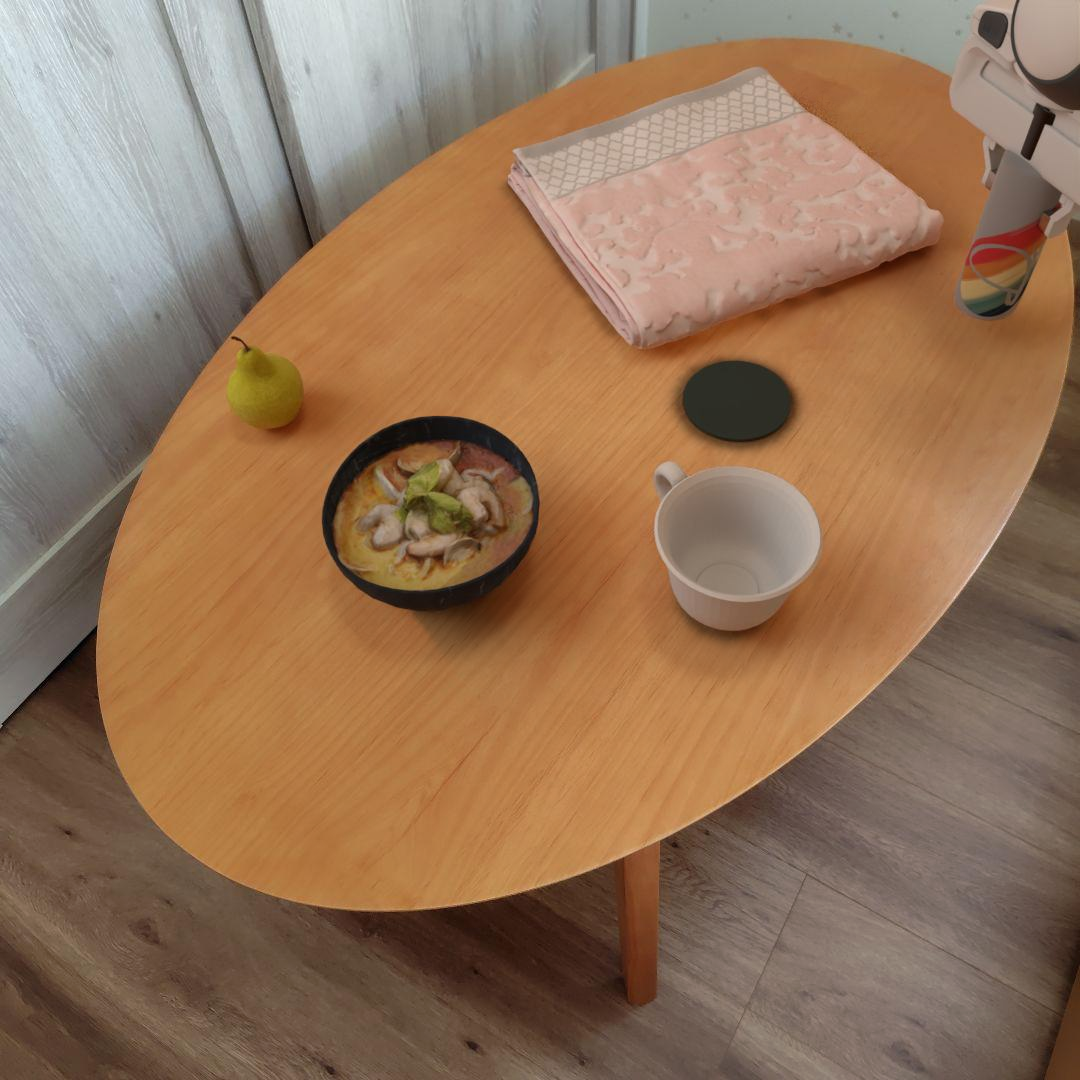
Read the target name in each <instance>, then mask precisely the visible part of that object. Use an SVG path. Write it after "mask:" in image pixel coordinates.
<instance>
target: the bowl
mask: <svg viewBox="0 0 1080 1080" xmlns="http://www.w3.org/2000/svg"><path fill="white" fill-rule="evenodd" d="M540 506H541V501H540V492H539V485H538V482H537V478H536V474H535V472H534V470H533V467H532V465H531V463H530V461H529V459H528V457H526V455H525V454H524V452H523V451H522V450H521V449H520V448H519V447H518V446H517V444H516V443H515V442H514V441H512V440H511V439H510V438H509V437H507V436H506V435H505V434H503V433H502V432H501V431H499V430H497V429H496V428H494V427H492V426H490V425H487V424H486V423H484V422H480V421H477V420H475V419H471V418H466V417H461V416H451V415H428V416H418V417H413V418H409V419H405V420H401V421H399V422H396V423H393V424H391V425H389V426H386V427H384V428H382V429H380V430H378V431H377V432H375V433H374V434H372V435H370V436H369V437H368V438H366V439H365V440H364V441H362V442H360V444H358V445H357V446H356V448H355V449H353V450H352V451H351V452H350V453H349V454H348V455H347V457H345V459H344V461H342V463H341V464H340V465H339V467H338V469H337V470H336V472H335V473H334V475H333V477H332V479H331V481H330V483H329V486H328V488H327V490H326V494H325V496H324V501H323V505H322V511H321V528H322V536H323V539H324V543H325V545H326V548H327V550H328V553H329V555H330V557H331V558H332V561H333V562H334V563H335V565H336V567H337V568H338V569H339V571H340V572H341V574H342V575H343V576H344V578H346V579H347V580H348V581H349V582H350V583H352V585H353V586H355V587H356V588H357V589H358V590H359V591H361V593H364V594H366V596H368V597H370V598H372V599H373V600H376V601H378V602H381V603H384V604H386V605H388V606H391V607H394V608H397V609H403V610H408V611H414V612H442V611H447V610H451V609H455V608H460V607H464V606H467V605H469V604H472V603H473V602H476V601H478V600H481V599H484V597H486V596H487V595H489V594H490V593H492V592H493V591H494V590H496V589H498V588H499V587H500V586H501V585H502V584H504V582H505V581H506V580H508V579H509V578H510V577H511V575H512V574H513V573H514V572H515V571H516V570H517V569H518V568H519V566H520V564H521V563H522V562H523V560H524V559H525V557H526V556H527V554H528V552H529V550H530V548H531V546H532V543H533V542H534V540H535V537H536V535H537V530H538V527H539V520H540V508H541V507H540Z"/></svg>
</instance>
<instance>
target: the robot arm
mask: <svg viewBox="0 0 1080 1080" xmlns="http://www.w3.org/2000/svg"><path fill="white" fill-rule="evenodd" d="M970 30H971V32H972V33H971V34H970V35H969V36H968V37H967V38H966V39H965V41H964V43H963V45H962V47H961V49H960V52H959V55H958V58H957V61H956V64H955V67H954V70H953V73H952V77H951V80H950V85H949V88H948V89H949V90H948V95H949V102H950V106H951V109H952V110H953V111H954V112H956V114H958V115H959V116H961V117H962V118H963V119H965V120H966V121H967V122H969V123H970V124H971V125H972V126H974V127H975V128H977V129H978V131H980V132H982V133H983V134H984V138H983V141H982V150H983V157H984V166H985V170H984V173H983V175H982V178H981V185H982V186H984V187H985V188H986V189H987V190H989V191H990V190H991V187H992V184H993V182H994V179H995V176H996V173H997V171H998V168H999V165H1000V162H1001V160H1002V157H1003V154H1004V152H1005V150H1009V151H1011V152H1013V153H1015V154H1016V155H1018V156H1020V157H1021V158H1023V159H1024V160H1025V161H1026V162H1028V163H1029V164H1030V165H1031V166H1032V167H1033V168H1034V169H1035V170H1036V171H1037V172H1038V173H1039V174H1040V175H1041V176H1042V178H1043V179H1045V180H1046V181H1047V182H1049V183H1050V184H1051V185H1052V186H1054V187H1055V188H1056V189H1058V190H1059V191H1060V192H1062V195H1061V197H1060V200H1059V202H1060V203H1061V204H1062V206H1058V207H1056V208H1053V210H1047V211H1044V212H1042V214H1041V217H1040V222H1039V223H1038V224H1037V229H1038V230H1040V231H1041V232H1042V233H1043V234H1044V235H1046V236H1047V237H1048V238H1047V239H1053V238H1056V237H1058V236H1061V235H1063V234H1064V233H1065V232H1066V231H1067V229H1068V226H1069V224H1070V222H1071V220H1072V218H1073V217H1074V216H1076V215H1077V214H1078V213H1080V0H987V1H985V2H983V3H981V4H977V6H976V7H975V8H974V10H973V13H972V17H971V19H970ZM1036 103H1038V104H1040V105H1041V106H1043V107H1046V108H1048V109H1050V112H1052V113H1054V114H1055V115H1056V117H1055V120H1054V123H1053V125H1052V126H1050V125H1046V124H1045V126H1044V129H1043V131H1042V134H1041V136H1040V139H1039V141H1038V144H1037V146H1036V149H1035V151H1034V153H1033V156H1032V158H1031V160H1030V161H1029V160H1027V159H1026V158H1024V157H1023V156H1022V155H1021V150H1022V147H1023V144H1024V141H1025V139H1026V136H1027V133H1028V131H1029V128H1030V125H1031V122H1032V120H1033V117H1034V115H1033V110H1034V107H1035V104H1036Z"/></svg>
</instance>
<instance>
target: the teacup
mask: <svg viewBox="0 0 1080 1080" xmlns="http://www.w3.org/2000/svg"><path fill="white" fill-rule="evenodd" d="M653 484H654V488H655V491H656V494H657V496H658V499H659V500H660V503H659V505H658V507H657V511H656V512H655V517H654V522H653V523H654V525H653V532H654V541H655V544H656V548H657V550H658V553H659V555H660V558H661V559H662V561H663V562H664V564H665V565H666V568H667V572H668V578H669V582H670V586H671V589H672V590H671V591H672V592H673V595H674V597H675V599H676V601H677V602H678V604H679V605H680V607H681V608H682V609H683V611H684V612H685V613H687V614H688V615H689V616H690V617H691V618H693V619H694V620H695V621H697V622H698V623H700V624H702V625H704V626H706V627H708V628H712V629H715V630H720V631H726V632H728V631H729V632H736V631H737V632H738V631H739V632H740V631H744V630H749V629H751V628H754V627H758V626H760V625H761V624H763V623H765V622H767V621H768V620H769V619H770V618H772V617H773V616H774V615H775V614H776V613H778V611H779V610H780V609H781V607H782V606H783V605H784V604H785V602H786V600H787V599H788V597H789V596H790V594H791V592H792V591H793V589H795V588H796V587H798V586H799V585H801V583H803V582H804V581H805V580H807V578H808V577H809V576H810V575H811V574H812V572H813V571H814V569H815V568H816V566H817V564H818V563H819V561H820V558H821V555H822V551H823V542H824V536H823V535H824V534H823V528H822V523H821V520H820V518H819V515H818V513H817V511H816V509H815V508H814V506H813V504H812V502H810V500H809V499H808V498H807V496H805V494H804V493H803V492H802V491H801V490H800V489H799V488H797V487H796V486H795V485H793V484H792V483H791V482H789V481H787V480H785V479H784V478H782V477H780V476H778V475H777V474H773V473H771V472H768V471H765V470H762V469H758V468H754V467H748V466H742V465H741V466H740V465H724V466H722V465H721V466H715V467H711V468H707V469H703V470H700V471H698V472H695V473H693V474H690V475H687V473H686V471H685V470H684V469H683V467H682V466H680V464H678V463H677V462H674V461H671V460H667V461H665V462H663V463H661V464H659V465H658V466H657V468H656V469H655V471H654V473H653Z"/></svg>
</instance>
